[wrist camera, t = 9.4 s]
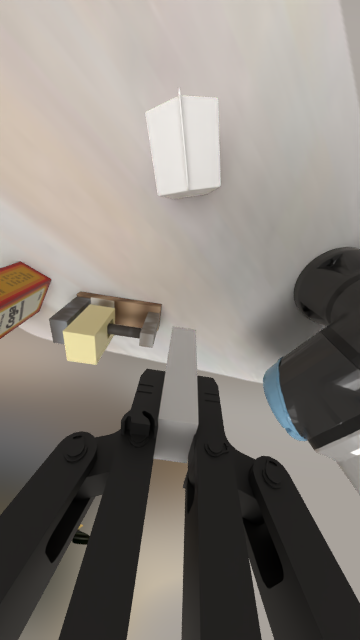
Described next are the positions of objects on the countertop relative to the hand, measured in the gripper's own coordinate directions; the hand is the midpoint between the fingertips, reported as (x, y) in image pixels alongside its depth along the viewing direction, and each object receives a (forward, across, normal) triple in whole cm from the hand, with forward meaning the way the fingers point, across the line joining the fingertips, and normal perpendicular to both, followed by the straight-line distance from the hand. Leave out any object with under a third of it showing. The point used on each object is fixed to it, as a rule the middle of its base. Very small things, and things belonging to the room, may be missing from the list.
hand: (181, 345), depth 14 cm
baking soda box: (+31, +33, +13) cm, 47 cm away
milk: (+31, +2, -12) cm, 33 cm away
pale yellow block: (+25, +15, +15) cm, 33 cm away
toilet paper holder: (+30, +13, +15) cm, 36 cm away
